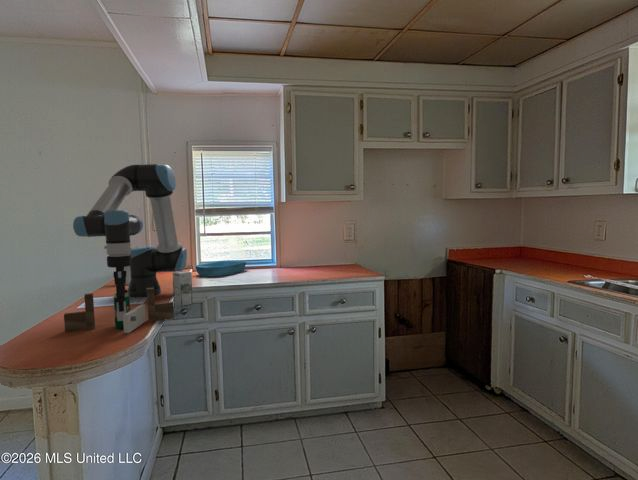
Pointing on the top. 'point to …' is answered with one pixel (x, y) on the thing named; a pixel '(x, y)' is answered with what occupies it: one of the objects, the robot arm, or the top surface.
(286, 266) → the top surface
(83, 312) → the partition
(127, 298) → the soda can
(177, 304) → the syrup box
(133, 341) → the top surface
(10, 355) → the top surface
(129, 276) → the pale grey tall block
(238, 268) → the casserole dish
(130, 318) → the gate
